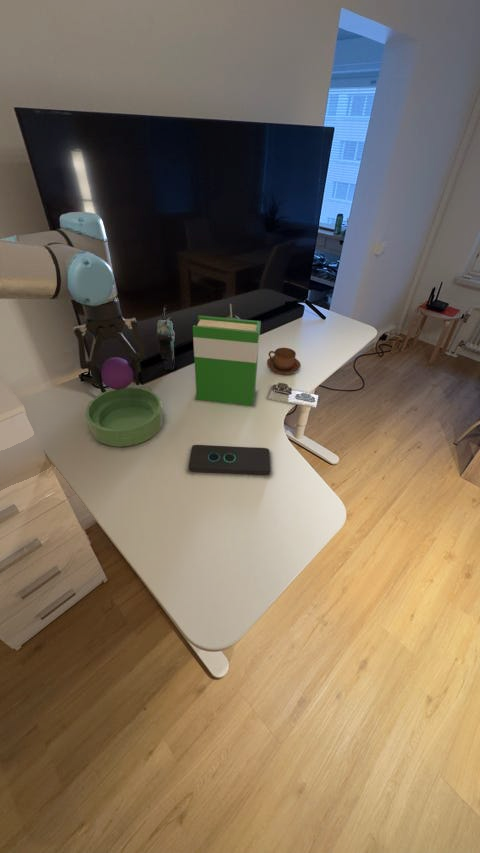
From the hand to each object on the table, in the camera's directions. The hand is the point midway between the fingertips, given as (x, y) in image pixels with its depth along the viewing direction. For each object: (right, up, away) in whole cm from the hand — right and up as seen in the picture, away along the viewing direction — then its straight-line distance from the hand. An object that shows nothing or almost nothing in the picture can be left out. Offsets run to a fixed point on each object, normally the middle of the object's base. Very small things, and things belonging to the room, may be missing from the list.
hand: (119, 385), depth 88 cm
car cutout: (+48, -1, +22) cm, 53 cm away
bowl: (-1, -10, +8) cm, 13 cm away
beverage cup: (+28, +16, +40) cm, 51 cm away
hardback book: (+27, -1, +21) cm, 34 cm away
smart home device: (+28, -20, -1) cm, 34 cm away
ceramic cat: (+5, +14, +37) cm, 40 cm away
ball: (0, +3, -2) cm, 4 cm away
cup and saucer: (+46, +10, +35) cm, 59 cm away
